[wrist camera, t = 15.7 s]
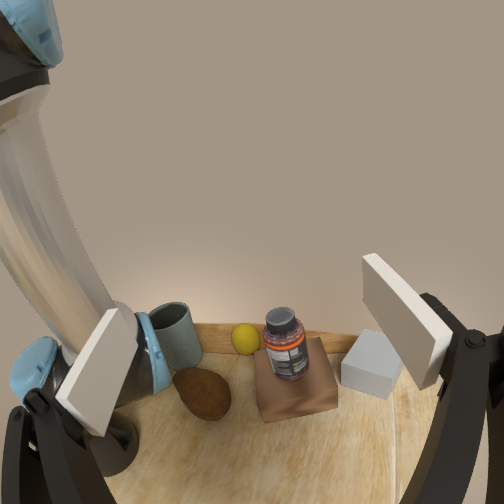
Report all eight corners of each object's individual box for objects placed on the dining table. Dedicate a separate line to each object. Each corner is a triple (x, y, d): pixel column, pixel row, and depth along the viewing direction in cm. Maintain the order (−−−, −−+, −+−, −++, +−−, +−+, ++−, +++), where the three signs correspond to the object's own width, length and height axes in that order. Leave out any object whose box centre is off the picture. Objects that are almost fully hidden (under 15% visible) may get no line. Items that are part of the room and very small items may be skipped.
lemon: (232, 359, 53) (221, 331, 50) (244, 342, 58) (235, 314, 55) (256, 364, 51) (247, 335, 48) (267, 346, 55) (259, 317, 52)
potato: (215, 374, 50) (201, 344, 47) (247, 411, 41) (233, 381, 37) (179, 394, 46) (160, 365, 43) (205, 435, 37) (185, 408, 33)
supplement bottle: (286, 351, 44) (275, 298, 40) (316, 362, 40) (310, 306, 36) (265, 374, 40) (249, 321, 36) (296, 387, 36) (285, 333, 32)
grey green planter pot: (164, 376, 52) (140, 335, 47) (165, 348, 61) (145, 308, 56) (208, 366, 53) (189, 322, 48) (204, 337, 62) (187, 296, 58)
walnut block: (264, 423, 37) (257, 404, 35) (260, 372, 49) (253, 351, 46) (337, 407, 37) (338, 386, 35) (321, 358, 48) (319, 336, 46)
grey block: (341, 384, 41) (341, 362, 39) (363, 351, 47) (364, 328, 44) (387, 400, 35) (392, 378, 33) (405, 362, 40) (410, 339, 38)
